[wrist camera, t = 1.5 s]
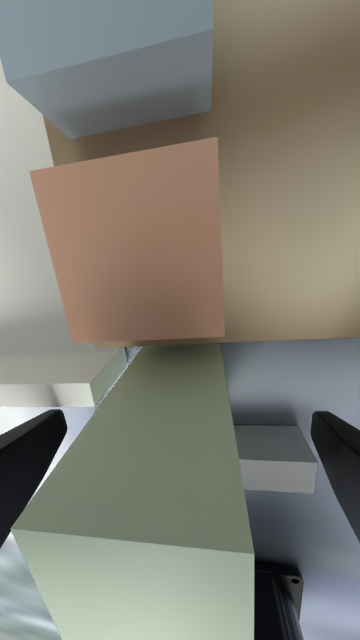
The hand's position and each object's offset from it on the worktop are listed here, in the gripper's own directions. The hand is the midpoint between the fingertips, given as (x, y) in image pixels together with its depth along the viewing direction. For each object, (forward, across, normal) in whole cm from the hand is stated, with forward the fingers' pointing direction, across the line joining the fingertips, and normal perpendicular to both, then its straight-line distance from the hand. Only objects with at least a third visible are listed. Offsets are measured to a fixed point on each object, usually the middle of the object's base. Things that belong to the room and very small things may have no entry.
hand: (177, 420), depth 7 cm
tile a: (+1, 0, -6) cm, 6 cm away
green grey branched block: (+3, 0, +2) cm, 4 cm away
